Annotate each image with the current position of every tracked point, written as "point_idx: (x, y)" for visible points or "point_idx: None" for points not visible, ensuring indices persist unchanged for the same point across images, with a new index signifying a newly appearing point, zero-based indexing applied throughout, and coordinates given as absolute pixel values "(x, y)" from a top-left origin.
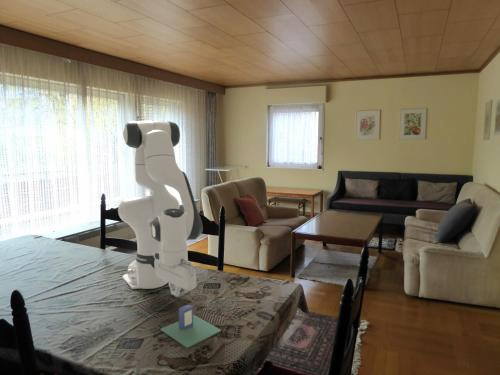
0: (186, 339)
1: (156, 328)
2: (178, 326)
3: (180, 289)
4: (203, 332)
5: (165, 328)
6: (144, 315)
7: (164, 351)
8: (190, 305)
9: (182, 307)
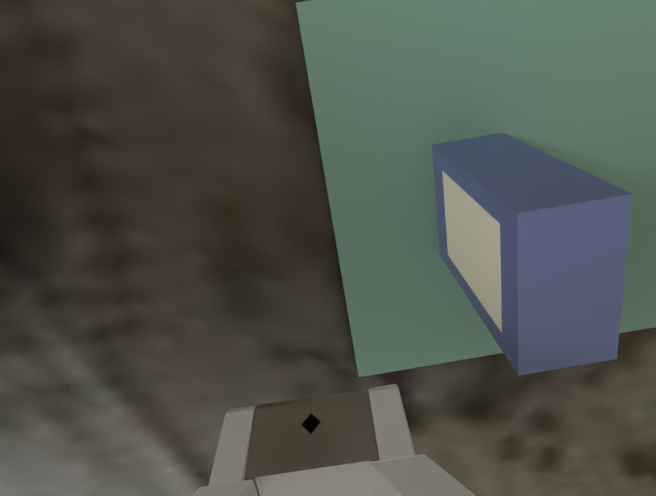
0: (637, 280)
1: (315, 385)
2: (418, 250)
3: (454, 479)
4: None
5: (377, 346)
6: (48, 394)
7: (616, 431)
8: (569, 209)
9: (536, 330)
